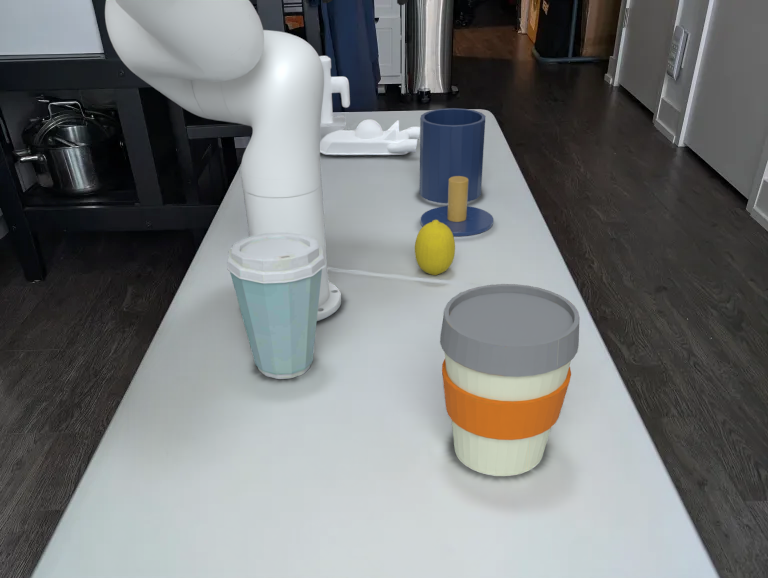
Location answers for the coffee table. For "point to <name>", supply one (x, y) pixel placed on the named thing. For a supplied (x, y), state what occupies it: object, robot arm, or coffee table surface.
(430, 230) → the lemon
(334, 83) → the white faucet
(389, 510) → the coffee table surface
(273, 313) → the disposable coffee cup
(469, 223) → the tin lid
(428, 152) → the tin
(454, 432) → the reusable coffee cup
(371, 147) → the plane toy
